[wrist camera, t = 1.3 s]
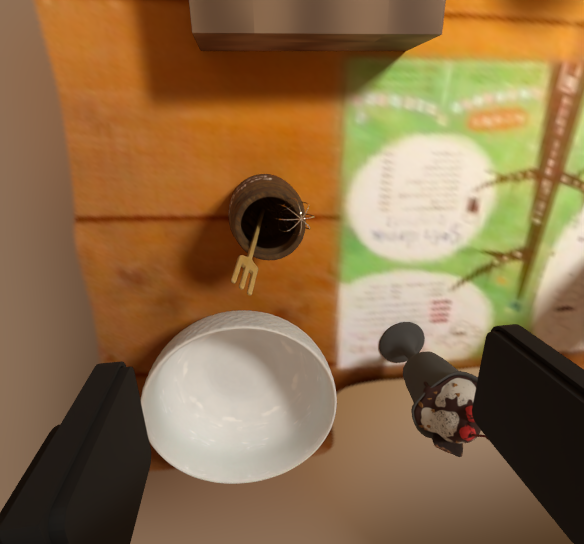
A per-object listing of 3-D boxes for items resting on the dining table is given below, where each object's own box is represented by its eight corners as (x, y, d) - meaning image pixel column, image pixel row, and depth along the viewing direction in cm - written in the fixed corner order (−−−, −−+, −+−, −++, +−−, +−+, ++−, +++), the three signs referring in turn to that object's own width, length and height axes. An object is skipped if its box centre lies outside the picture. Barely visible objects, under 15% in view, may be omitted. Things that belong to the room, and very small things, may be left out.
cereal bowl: (129, 315, 34) (103, 359, 28) (302, 270, 35) (317, 302, 28) (188, 447, 41) (179, 507, 34) (334, 406, 41) (352, 458, 35)
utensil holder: (311, 203, 33) (349, 241, 22) (265, 255, 34) (277, 316, 23) (260, 157, 31) (273, 172, 20) (213, 213, 32) (199, 258, 21)
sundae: (406, 302, 38) (504, 402, 24) (442, 339, 40) (551, 451, 26) (358, 344, 39) (425, 464, 25) (396, 378, 41) (477, 505, 27)
